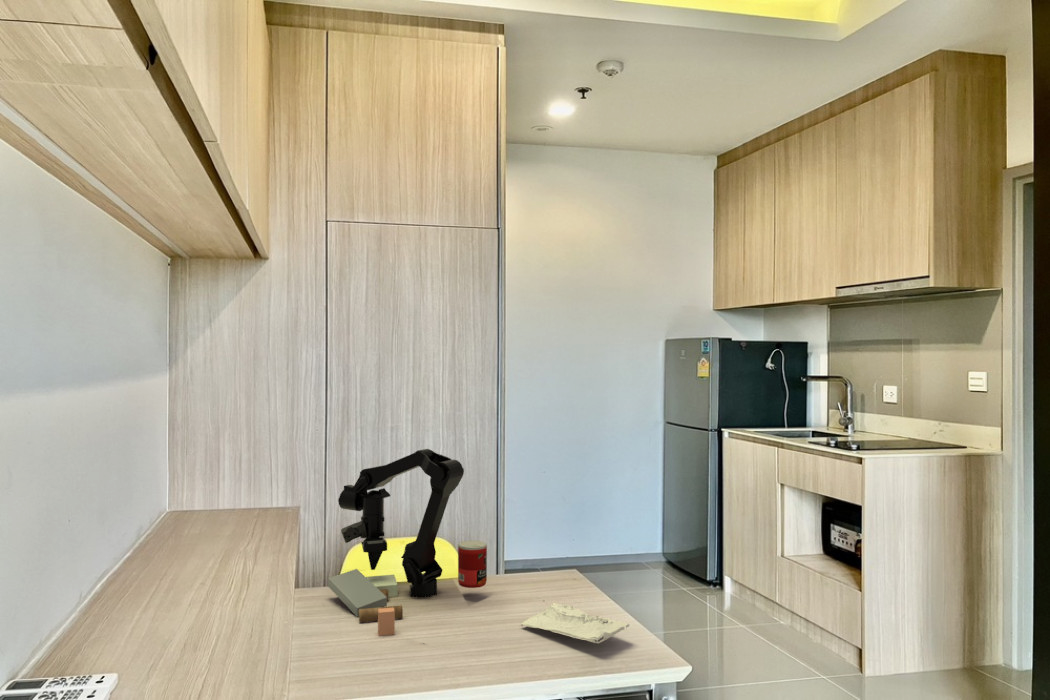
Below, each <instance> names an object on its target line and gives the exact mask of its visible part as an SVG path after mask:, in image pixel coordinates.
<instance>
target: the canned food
mask: <svg viewBox="0 0 1050 700" xmlns="http://www.w3.org/2000/svg"><path fill="white" fill-rule="evenodd" d="M457 545H458V547H457V548H458V549H457V575H458V576H457V582H458V585H459V586H460V587H462V588H467V589H476V588H477V589H478V588H482V587H484V586H485V585H486V584H487V581H488V580H487V579H488V577H487V575H488V574H487V573H488V572H487V570H488V569H487V567H488V565H487V563H488V561H487V560H488V559H487V558H488V557H487V556H488V551H487V550H488V547H487V543H486V542H484V541H481V540H464V541H461V542H459V543H458V544H457Z"/></svg>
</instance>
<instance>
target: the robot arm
mask: <svg viewBox="0 0 1050 700" xmlns="http://www.w3.org/2000/svg"><path fill="white" fill-rule="evenodd" d="M419 467H420V468H421V470H422V471H423V472H424V474H426V475H427V476H429V477H430V479H429V482H430V488H431V493H430V495H429V499H428V501H427V505H426V508H425V511H424V514H423V518H422V521H421V524H420V525H419V531H418V532H417V536H416V539H415V540H413V541H412V542H409V543H406V544H405V547H404V551H403V555H401V556H400V557H401V559H402V562H401V565H402V567H403V571H404V574H405V578H406V581H407V583H408V584H410V585H409V596H410V598H418V599H419V598H420V599H425V598H426V599H428V598H431V597H434V596H438V580H437V579H438V578H440V577H441V576H442V575H443V568H442V567H441V566H440V564H439V563H438V562H437V560H436V559H435V558H436V553H437V552H436V546H435V541H436V539H437V535H438V532H439V529H440V525H441V523H442V520H443V517H444V514H445V511H446V508H447V505H448V502H449V498H450V496H451V494H452V493H453V492H455V490H456V488H457V487H458V486H459V485H460V483H461V481H462V479H463V477H464V474H465V473H464V472H465V468H464V466H463V465H462V463H461V462H460V461H459V460H456V459H452V458H450V457H448V456H445V455H443V454H439V453H437V452H436V451H433V450H431V449H429V448H424V449H419V450H416V451H415V452H414V453H411V454H409V455H406V456H403V457H402V458H399V459H397V460H393V461H392V462H390V463H387V464H383V465H379V466H373V467H369V468H363V469H362V470H361V471H360V472H359V476H358V479H357V480H356V482H355V484H354V485H352V484H347V485H344V486H343V490H342V491H341V492H340V495H339V497H338V499H337V500H338V506H339V508H341V509H342V510H347V511H348V510H349V511H353V512H361V511H362V515H361V516H360V521H357V522H353V523H352V524H349V525H348V526H345V527H343V528H341V530H340V531H341V532H340V533H341V535H342V538H343V540H344V543H345V544H347V543H350V542H351V541H353V540H355V539H356V540H357V539H358V538H360V539H364V540H363V541H361V543H360V544H361V546H362V552H363V553H367V556H368V562H369V567H370V571H375V570H376V568H377V566H378V563H379V561H380V558H381V556H382V554H383V552H386V551H388V542H387V539H385V528H384V527H385V526H384V525H385V524H384V522H385V514H384V513H385V510H384V506H385V505H384V504H385V500H384V499H385V498H389V497H391V494H390V493H389V492H388V491H387V490H386V488H385V487H384V486H386V485H388V484H389V483H390V482H391V481H392V480H393V479H394V478H396V477H397V476H399V475H402V474H405V473H407V472H410V471H412V470H414V469H418V468H419ZM381 487H384V488H381ZM377 488H379V489H378V490H375V489H377Z"/></svg>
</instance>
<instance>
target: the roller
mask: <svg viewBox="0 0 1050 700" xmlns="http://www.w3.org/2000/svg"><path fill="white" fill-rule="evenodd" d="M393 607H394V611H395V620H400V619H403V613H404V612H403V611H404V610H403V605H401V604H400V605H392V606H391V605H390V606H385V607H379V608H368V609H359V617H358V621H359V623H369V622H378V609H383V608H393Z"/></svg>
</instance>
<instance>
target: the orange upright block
mask: <svg viewBox="0 0 1050 700" xmlns="http://www.w3.org/2000/svg"><path fill="white" fill-rule="evenodd" d="M395 620H396V619H395V611H394V607H393V608H383V609H378V621H377V634H378V637H381V636H382V637H383V636H391V635H392V636H393V635H395V631H396V630H395V628H396V627H395V625H396V623H395V622H396V621H395Z"/></svg>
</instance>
